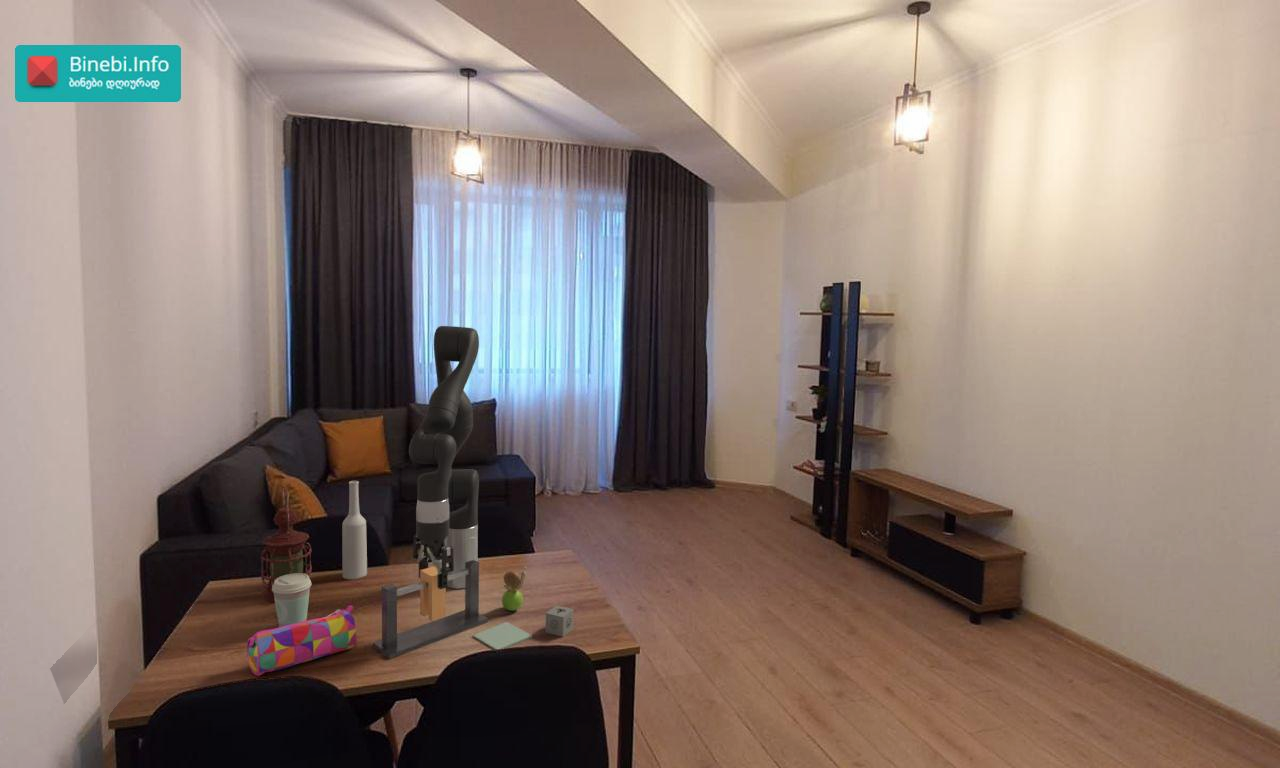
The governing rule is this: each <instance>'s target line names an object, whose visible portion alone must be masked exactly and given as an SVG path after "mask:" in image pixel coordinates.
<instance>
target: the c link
mask: <svg viewBox="0 0 1280 768" xmlns="http://www.w3.org/2000/svg"><path fill="white" fill-rule="evenodd" d="M422 581H426V582H428V587H426V588H423V589H420V590H419V615H421V616H423V617H426V616H427V617H428V620H429V621H430V622H432V621H435V620H438V619H441V618H444V617H446V616H447V615H446V614H447V613H446V610H447V609H446V603H447V602H446V601H447V599H446V595H447V594H446V593H447V592H446V590H447V587H446V588H443V589H439V588H438V571H437V568H436V566H434V565H433V566H430V567H428V568H426V569H423V570H420V578H419V582H422Z"/></svg>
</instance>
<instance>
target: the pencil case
mask: <svg viewBox="0 0 1280 768" xmlns="http://www.w3.org/2000/svg"><path fill="white" fill-rule="evenodd" d="M354 608H355V607H354V606H353V605H349V604H348V606H347V607H346V609H340V608H339V609H336V610H335V611H334V612H331V613H330V614H328V615H327V616H324V617H320V618H313V619H309V620H306V621H304V622H300V623H296V624H291V625H287V626H282V627H279V626H278V627H276V628H273V629H266V630H264V629H263V630H261V631H260V630H259V631H257V632H256V633H254V635H253V636H251V637H250V638H248V640H247V642H246V656H247V664H248V666H249V668H250V670H251V672H252V673H253V675H255V676H256V677H259V676H262V675H264V674H265V673H268V672H274V671H279V670H283V669H287V668H290V667H294V666H295V665H298V664H302V663H306V662H309V661H313V660H316V659H319V658H322V657H325V656H328V655H332V654H335V653H340V652H344V651H347V650H350V649H352V648H354V647H355V645H356V644H357V643H356V642H357V629H356V621H355V618H354V616H353V615H352V614H351V612H352V611H353V610H355V609H354Z"/></svg>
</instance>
